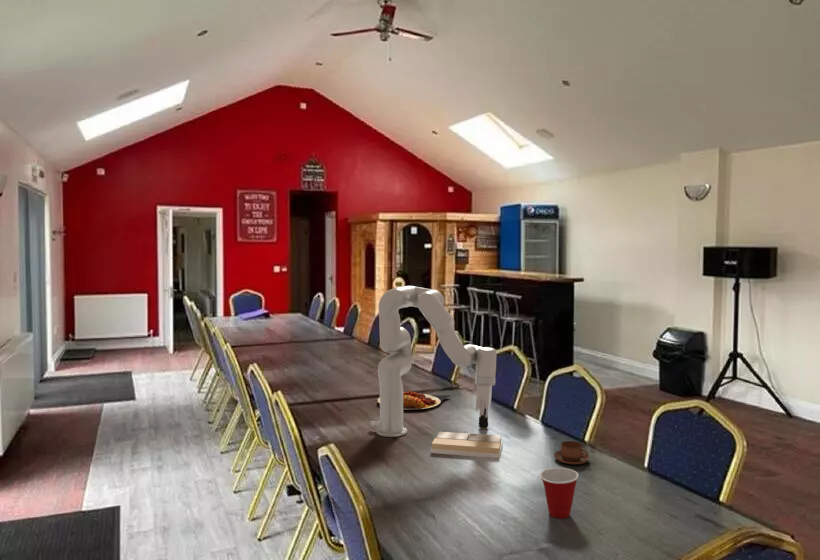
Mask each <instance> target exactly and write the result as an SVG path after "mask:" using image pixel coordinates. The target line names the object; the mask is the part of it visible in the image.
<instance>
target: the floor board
mask: <svg viewBox="0 0 820 560" xmlns="http://www.w3.org/2000/svg"><path fill="white" fill-rule="evenodd" d="M502 450H503V441H501V444H500V443H496V442H483V441H469V440H455V439H441V438H436V437H434V439H433V441H432V442H431V448H430V452H431V454H436V455H437V454H438V455H439V454H441V455H450V456H464V457H465V456H466V457H477V458H478V457H479V458H491V459H500V458H501V452H502Z"/></svg>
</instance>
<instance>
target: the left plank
mask: <svg viewBox="0 0 820 560" xmlns="http://www.w3.org/2000/svg"><path fill="white" fill-rule="evenodd" d="M469 436H470V433H467V432H466V433H463V432H450V431H438V433H437V435H436V437H435V438H441V439H455V440H468V439H469Z"/></svg>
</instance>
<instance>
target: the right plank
mask: <svg viewBox="0 0 820 560" xmlns="http://www.w3.org/2000/svg"><path fill="white" fill-rule="evenodd" d="M468 440H469V441H483V442H496V443H500V444H501V442H502V435H499V434H498V435H496V434H482V433H469V439H468Z"/></svg>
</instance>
